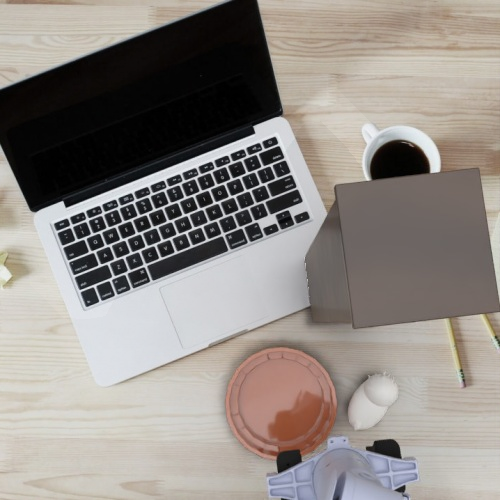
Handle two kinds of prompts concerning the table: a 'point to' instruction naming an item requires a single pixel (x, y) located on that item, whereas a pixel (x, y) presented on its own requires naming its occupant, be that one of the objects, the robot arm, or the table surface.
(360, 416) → the toy creature
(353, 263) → the taupe notched tower
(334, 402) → the bowl
